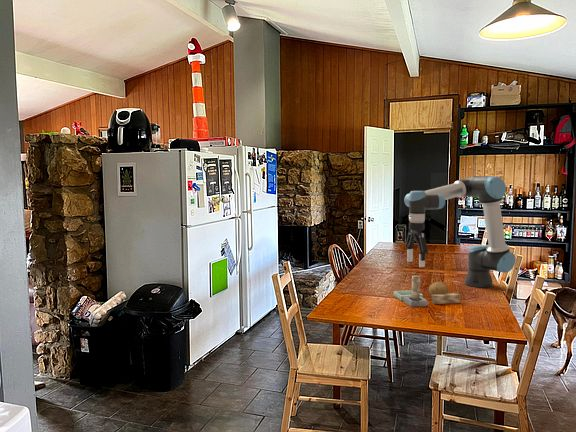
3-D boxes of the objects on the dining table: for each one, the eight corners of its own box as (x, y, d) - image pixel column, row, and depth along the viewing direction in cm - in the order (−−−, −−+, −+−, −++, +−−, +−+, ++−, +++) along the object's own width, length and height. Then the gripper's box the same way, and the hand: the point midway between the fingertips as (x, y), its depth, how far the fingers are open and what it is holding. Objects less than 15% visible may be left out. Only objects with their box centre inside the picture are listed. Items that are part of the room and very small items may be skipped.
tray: (414, 294, 246) (414, 290, 246) (422, 299, 236) (422, 294, 236) (393, 295, 244) (393, 291, 244) (401, 300, 234) (401, 296, 234)
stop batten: (456, 300, 234) (457, 293, 233) (460, 302, 231) (460, 294, 230) (431, 302, 231) (431, 294, 231) (434, 304, 228) (434, 296, 228)
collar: (419, 300, 234) (419, 295, 234) (427, 305, 226) (427, 300, 225) (403, 301, 233) (403, 296, 233) (410, 306, 224) (410, 301, 224)
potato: (426, 301, 234) (427, 285, 233) (430, 294, 247) (430, 279, 246) (446, 303, 230) (447, 287, 229) (449, 296, 243) (449, 281, 242)
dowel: (417, 302, 232) (418, 275, 230) (420, 304, 228) (421, 277, 226) (409, 302, 231) (410, 275, 230) (413, 304, 227) (414, 277, 226)
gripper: (399, 219, 237) (398, 259, 239) (421, 224, 212) (419, 269, 214) (412, 219, 238) (412, 259, 240) (435, 224, 214) (434, 269, 216)
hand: (415, 264), depth 227 cm, fingers open, 13 cm apart
